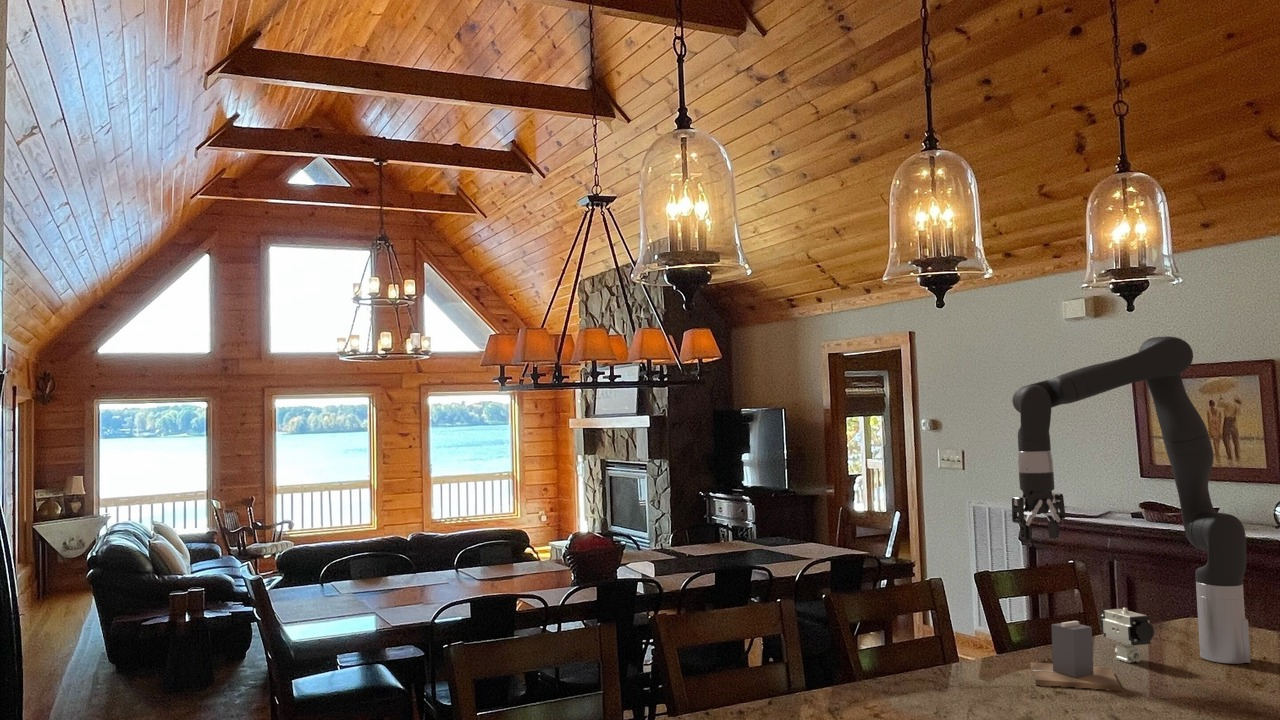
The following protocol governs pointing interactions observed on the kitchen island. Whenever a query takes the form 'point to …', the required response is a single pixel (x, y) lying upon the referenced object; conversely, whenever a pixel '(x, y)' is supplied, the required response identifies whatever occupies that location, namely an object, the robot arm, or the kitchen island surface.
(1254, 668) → the kitchen island surface
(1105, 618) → the pneumatic valve
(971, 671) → the kitchen island surface
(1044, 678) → the panel
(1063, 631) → the grey rectangular block
